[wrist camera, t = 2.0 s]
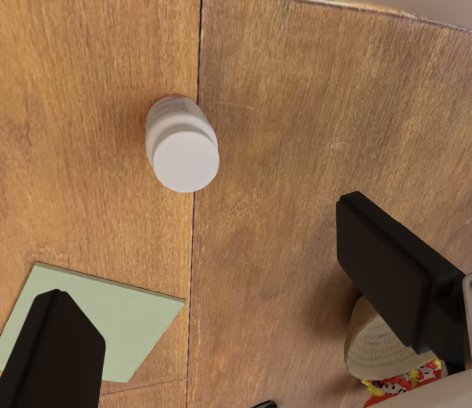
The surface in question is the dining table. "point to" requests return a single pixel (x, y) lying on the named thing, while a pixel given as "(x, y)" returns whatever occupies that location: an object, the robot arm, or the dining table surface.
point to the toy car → (268, 405)
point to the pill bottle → (181, 144)
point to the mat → (100, 316)
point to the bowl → (377, 347)
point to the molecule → (400, 383)
